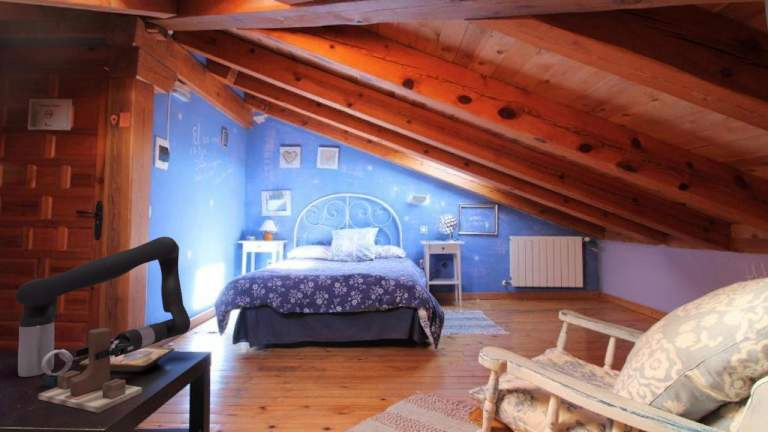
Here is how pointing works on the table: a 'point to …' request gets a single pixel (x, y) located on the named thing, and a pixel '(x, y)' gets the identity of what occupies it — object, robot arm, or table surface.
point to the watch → (52, 378)
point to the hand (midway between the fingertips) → (84, 355)
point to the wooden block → (94, 365)
